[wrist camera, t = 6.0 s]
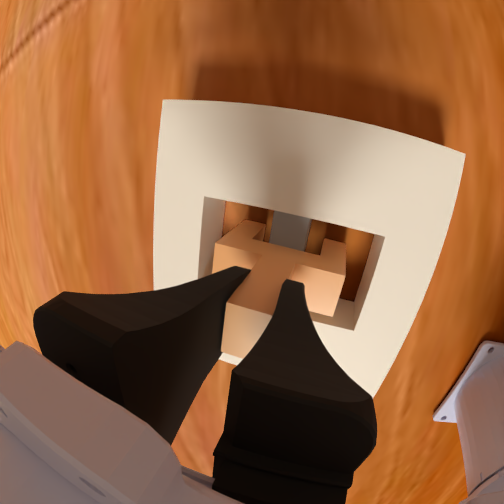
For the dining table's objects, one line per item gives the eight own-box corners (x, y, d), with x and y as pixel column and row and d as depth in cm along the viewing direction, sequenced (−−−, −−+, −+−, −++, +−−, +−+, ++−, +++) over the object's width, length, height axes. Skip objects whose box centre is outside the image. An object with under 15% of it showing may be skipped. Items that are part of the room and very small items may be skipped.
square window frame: (444, 151, 12) (465, 154, 10) (372, 367, 18) (372, 399, 15) (191, 104, 15) (163, 99, 13) (177, 313, 21) (155, 335, 18)
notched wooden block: (346, 243, 15) (342, 333, 8) (336, 277, 16) (323, 381, 9) (245, 219, 16) (165, 283, 9) (240, 252, 17) (165, 331, 10)
